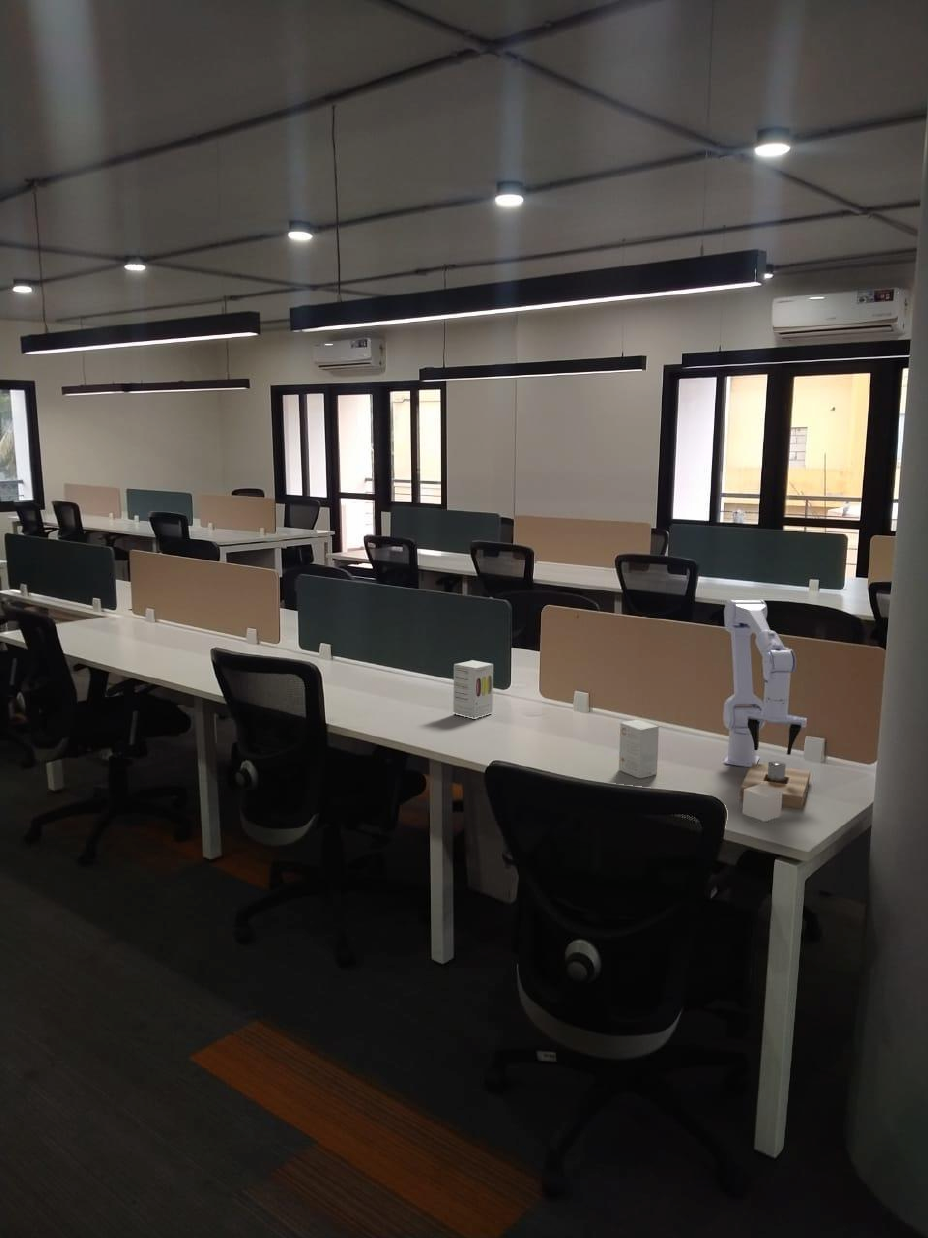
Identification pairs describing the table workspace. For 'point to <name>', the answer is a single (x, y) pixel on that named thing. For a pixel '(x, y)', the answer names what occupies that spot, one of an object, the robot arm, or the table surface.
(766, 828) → the table surface
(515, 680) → the table surface
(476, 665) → the supplement box
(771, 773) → the steel pin
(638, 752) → the small box
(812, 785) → the table surface
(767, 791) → the white cube
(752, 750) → the robot arm
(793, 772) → the wooden socket block
